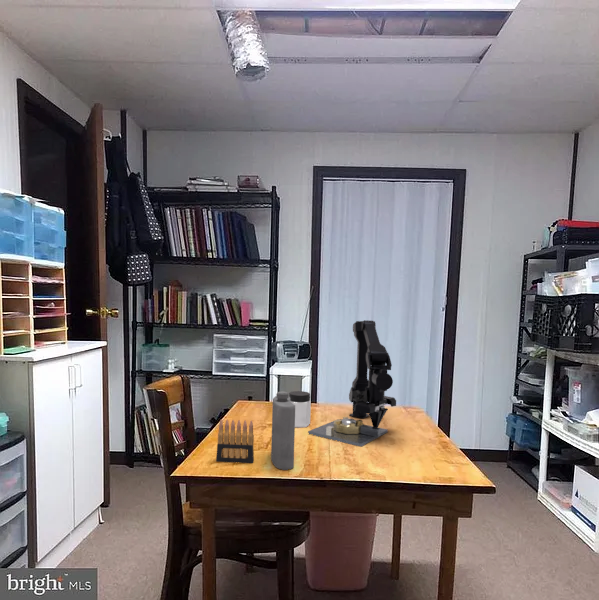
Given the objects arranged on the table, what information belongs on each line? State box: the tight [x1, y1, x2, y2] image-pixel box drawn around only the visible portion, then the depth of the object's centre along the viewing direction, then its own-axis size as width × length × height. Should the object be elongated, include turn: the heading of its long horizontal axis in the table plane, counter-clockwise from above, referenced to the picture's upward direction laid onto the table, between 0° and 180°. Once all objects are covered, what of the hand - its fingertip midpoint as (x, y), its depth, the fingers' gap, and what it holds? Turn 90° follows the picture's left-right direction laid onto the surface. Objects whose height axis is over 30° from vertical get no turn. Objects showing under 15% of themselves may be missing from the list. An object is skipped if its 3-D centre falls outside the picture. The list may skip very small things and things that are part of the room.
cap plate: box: [307, 417, 389, 448], centre depth 155 cm, size 21×21×5 cm
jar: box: [288, 390, 312, 428], centre depth 164 cm, size 9×8×12 cm
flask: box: [270, 390, 296, 471], centre depth 126 cm, size 15×6×20 cm, turn 9°
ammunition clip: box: [215, 419, 255, 464], centre depth 124 cm, size 11×2×12 cm, turn 88°
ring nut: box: [333, 416, 381, 438], centre depth 153 cm, size 17×10×3 cm, turn 55°
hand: (375, 428), depth 153 cm, fingers closed
